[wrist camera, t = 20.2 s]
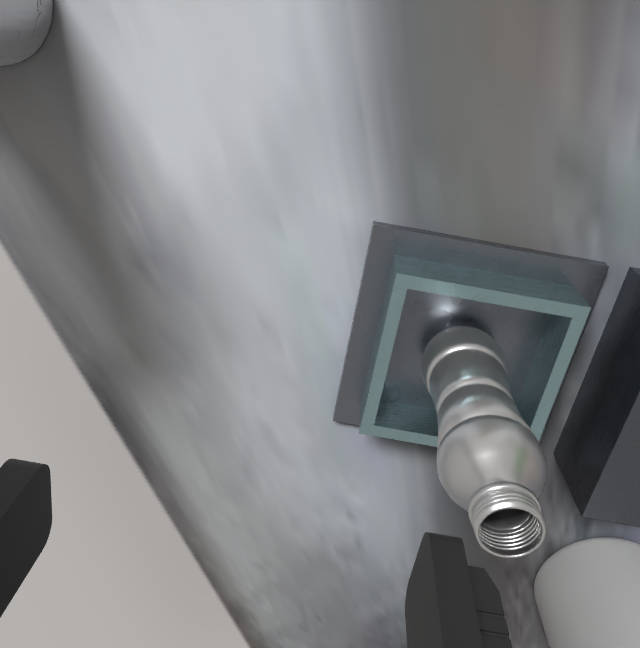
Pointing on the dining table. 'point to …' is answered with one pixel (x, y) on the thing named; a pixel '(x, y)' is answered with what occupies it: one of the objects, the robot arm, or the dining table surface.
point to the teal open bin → (516, 343)
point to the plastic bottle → (485, 442)
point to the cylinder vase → (591, 594)
